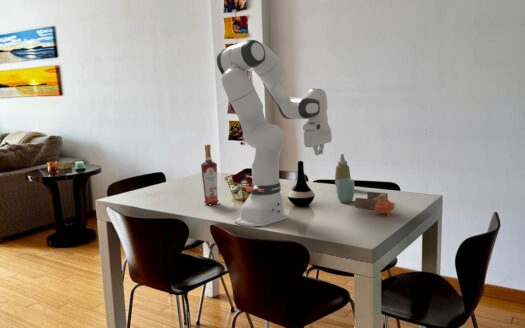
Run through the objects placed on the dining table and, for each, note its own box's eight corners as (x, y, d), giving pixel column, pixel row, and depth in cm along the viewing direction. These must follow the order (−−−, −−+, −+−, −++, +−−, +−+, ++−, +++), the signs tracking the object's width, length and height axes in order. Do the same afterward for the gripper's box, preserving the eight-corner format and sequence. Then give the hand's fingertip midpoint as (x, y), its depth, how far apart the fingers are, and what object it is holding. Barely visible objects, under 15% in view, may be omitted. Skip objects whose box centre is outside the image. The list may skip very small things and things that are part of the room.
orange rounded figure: (375, 217, 196) (374, 200, 197) (374, 216, 204) (373, 200, 204) (396, 216, 195) (395, 199, 196) (394, 215, 203) (392, 199, 203)
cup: (354, 204, 219) (353, 182, 217) (336, 204, 221) (336, 182, 219) (354, 199, 226) (354, 178, 225) (337, 199, 228) (337, 178, 226)
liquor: (218, 201, 236) (214, 143, 231) (220, 205, 229) (216, 145, 224) (202, 203, 234) (198, 144, 230) (204, 206, 227) (200, 146, 223)
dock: (375, 209, 208) (375, 200, 207) (355, 207, 213) (355, 198, 213) (387, 202, 219) (387, 193, 219) (368, 200, 225) (368, 191, 224)
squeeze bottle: (331, 189, 249) (330, 154, 246) (342, 187, 254) (341, 152, 251) (344, 192, 242) (343, 155, 239) (354, 189, 248) (353, 153, 245)
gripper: (322, 122, 235) (323, 151, 238) (300, 126, 219) (301, 157, 221) (334, 122, 232) (335, 151, 234) (313, 126, 215) (314, 158, 218)
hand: (318, 154), depth 227 cm, fingers closed
